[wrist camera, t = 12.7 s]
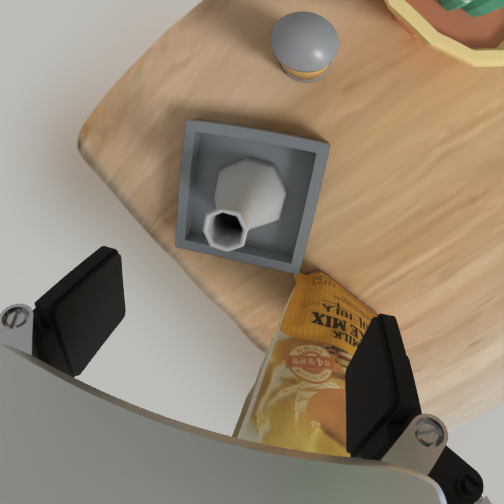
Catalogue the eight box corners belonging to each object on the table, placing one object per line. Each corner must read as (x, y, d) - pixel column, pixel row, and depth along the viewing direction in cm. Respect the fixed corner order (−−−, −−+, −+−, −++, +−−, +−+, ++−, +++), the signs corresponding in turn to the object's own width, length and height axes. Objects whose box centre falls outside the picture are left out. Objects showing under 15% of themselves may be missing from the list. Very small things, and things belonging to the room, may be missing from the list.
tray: (195, 119, 28) (186, 120, 26) (328, 142, 27) (330, 144, 25) (183, 237, 34) (175, 246, 32) (299, 263, 33) (298, 274, 31)
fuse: (284, 34, 23) (275, 7, 16) (333, 43, 22) (342, 19, 15) (276, 77, 25) (265, 64, 18) (326, 87, 25) (333, 77, 17)
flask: (285, 154, 28) (274, 175, 19) (289, 226, 31) (280, 277, 22) (210, 159, 29) (167, 182, 20) (219, 228, 32) (184, 276, 23)
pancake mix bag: (369, 365, 37) (381, 568, 13) (259, 287, 35) (179, 547, 10) (408, 336, 35) (450, 550, 10) (298, 246, 32) (252, 554, 7)
